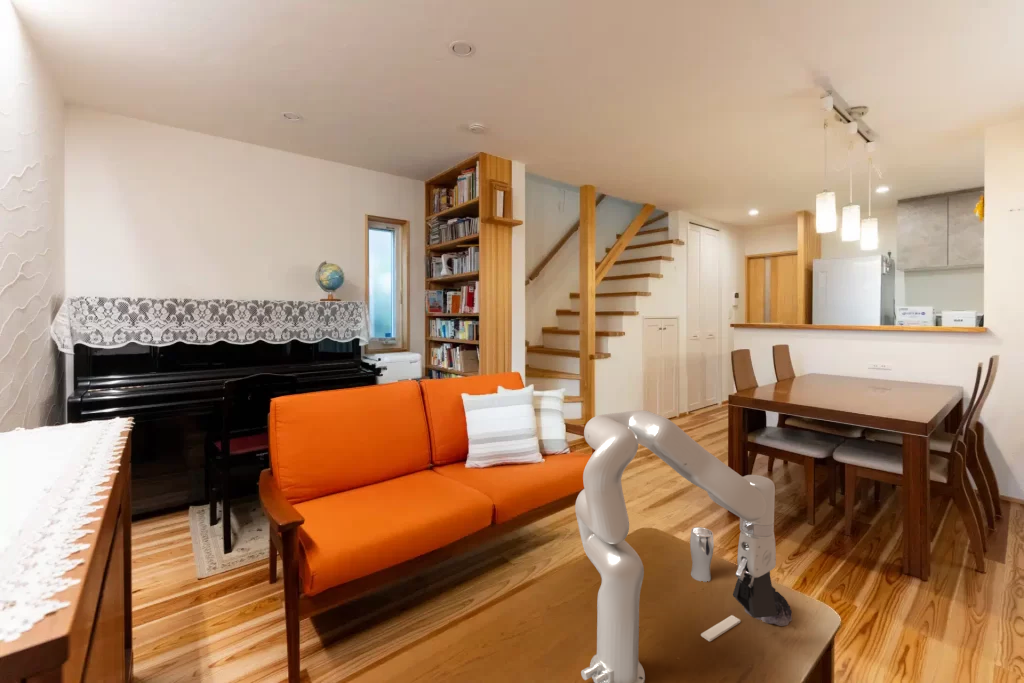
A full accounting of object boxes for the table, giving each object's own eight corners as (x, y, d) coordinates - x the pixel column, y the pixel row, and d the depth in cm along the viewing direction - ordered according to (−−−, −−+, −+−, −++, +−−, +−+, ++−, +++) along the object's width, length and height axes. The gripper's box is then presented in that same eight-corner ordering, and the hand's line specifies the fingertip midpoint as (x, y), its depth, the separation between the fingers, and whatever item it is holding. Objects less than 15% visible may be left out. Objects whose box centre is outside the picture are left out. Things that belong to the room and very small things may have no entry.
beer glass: (690, 580, 142) (691, 535, 142) (688, 568, 149) (689, 525, 148) (714, 584, 140) (715, 538, 139) (711, 572, 147) (712, 528, 146)
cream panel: (709, 641, 116) (709, 639, 116) (700, 635, 118) (701, 633, 118) (740, 622, 123) (740, 620, 123) (731, 616, 125) (731, 614, 125)
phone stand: (777, 616, 109) (778, 569, 109) (754, 618, 109) (755, 571, 108) (754, 594, 118) (755, 550, 118) (732, 595, 118) (733, 551, 117)
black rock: (770, 597, 135) (767, 564, 135) (807, 624, 122) (803, 587, 122) (731, 605, 133) (727, 572, 133) (763, 633, 120) (759, 596, 120)
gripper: (752, 541, 105) (749, 615, 106) (789, 523, 114) (787, 591, 115) (722, 528, 111) (720, 598, 112) (760, 512, 120) (758, 576, 121)
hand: (754, 594), depth 113 cm, fingers closed on phone stand, 6 cm apart
